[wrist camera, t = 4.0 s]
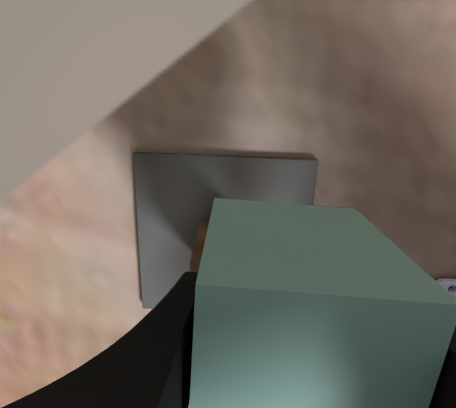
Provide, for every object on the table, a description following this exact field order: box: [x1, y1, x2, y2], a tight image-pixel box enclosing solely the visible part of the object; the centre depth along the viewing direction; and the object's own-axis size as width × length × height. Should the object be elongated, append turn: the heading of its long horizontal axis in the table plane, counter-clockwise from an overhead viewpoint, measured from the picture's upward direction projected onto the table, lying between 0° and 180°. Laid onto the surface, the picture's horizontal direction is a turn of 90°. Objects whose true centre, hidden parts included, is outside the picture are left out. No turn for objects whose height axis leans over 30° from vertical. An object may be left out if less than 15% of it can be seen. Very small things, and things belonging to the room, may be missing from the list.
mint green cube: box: [189, 198, 456, 408], centre depth 10 cm, size 5×5×6 cm
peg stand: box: [133, 152, 318, 309], centre depth 17 cm, size 10×10×5 cm
